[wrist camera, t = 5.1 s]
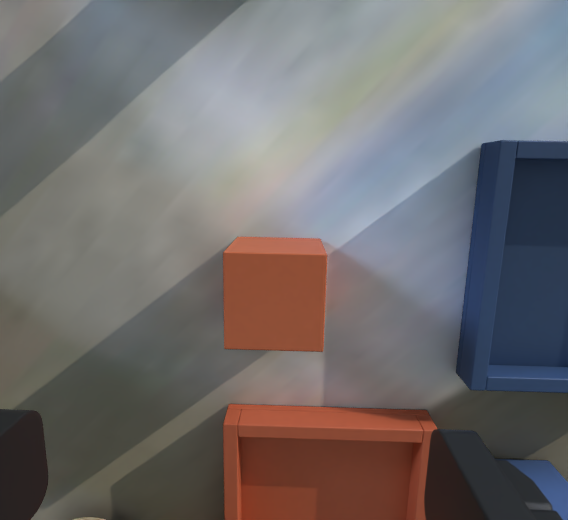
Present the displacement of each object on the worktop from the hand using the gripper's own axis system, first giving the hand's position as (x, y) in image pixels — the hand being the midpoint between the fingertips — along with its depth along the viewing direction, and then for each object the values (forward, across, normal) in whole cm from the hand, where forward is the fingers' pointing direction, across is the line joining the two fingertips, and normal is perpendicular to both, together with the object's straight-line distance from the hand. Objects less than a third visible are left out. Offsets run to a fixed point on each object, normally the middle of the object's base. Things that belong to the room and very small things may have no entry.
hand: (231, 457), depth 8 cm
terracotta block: (+14, 0, 0) cm, 14 cm away
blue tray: (+15, -16, -1) cm, 22 cm away
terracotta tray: (+14, -3, +14) cm, 20 cm away
